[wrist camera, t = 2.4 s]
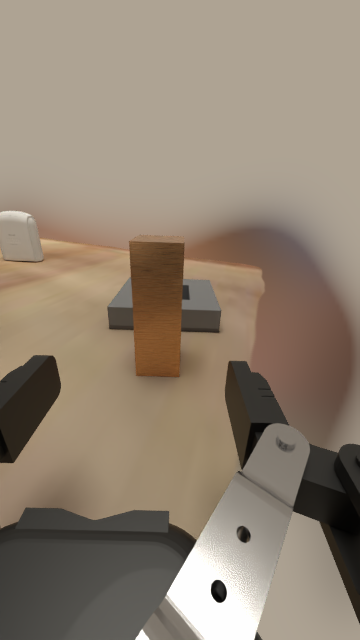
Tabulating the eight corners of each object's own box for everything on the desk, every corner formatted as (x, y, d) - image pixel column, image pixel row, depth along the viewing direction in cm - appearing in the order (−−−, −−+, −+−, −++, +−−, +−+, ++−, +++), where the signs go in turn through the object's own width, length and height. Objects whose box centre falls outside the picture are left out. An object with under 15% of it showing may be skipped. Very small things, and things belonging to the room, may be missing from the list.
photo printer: (0, 260, 65) (-14, 210, 59) (12, 258, 68) (0, 210, 63) (36, 263, 63) (25, 211, 58) (46, 260, 67) (37, 211, 62)
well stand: (109, 328, 31) (107, 306, 30) (130, 293, 43) (129, 277, 42) (218, 332, 31) (221, 310, 30) (208, 296, 44) (209, 280, 42)
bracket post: (136, 375, 22) (129, 241, 17) (143, 349, 27) (139, 235, 21) (179, 376, 22) (184, 243, 17) (179, 351, 27) (183, 236, 22)
